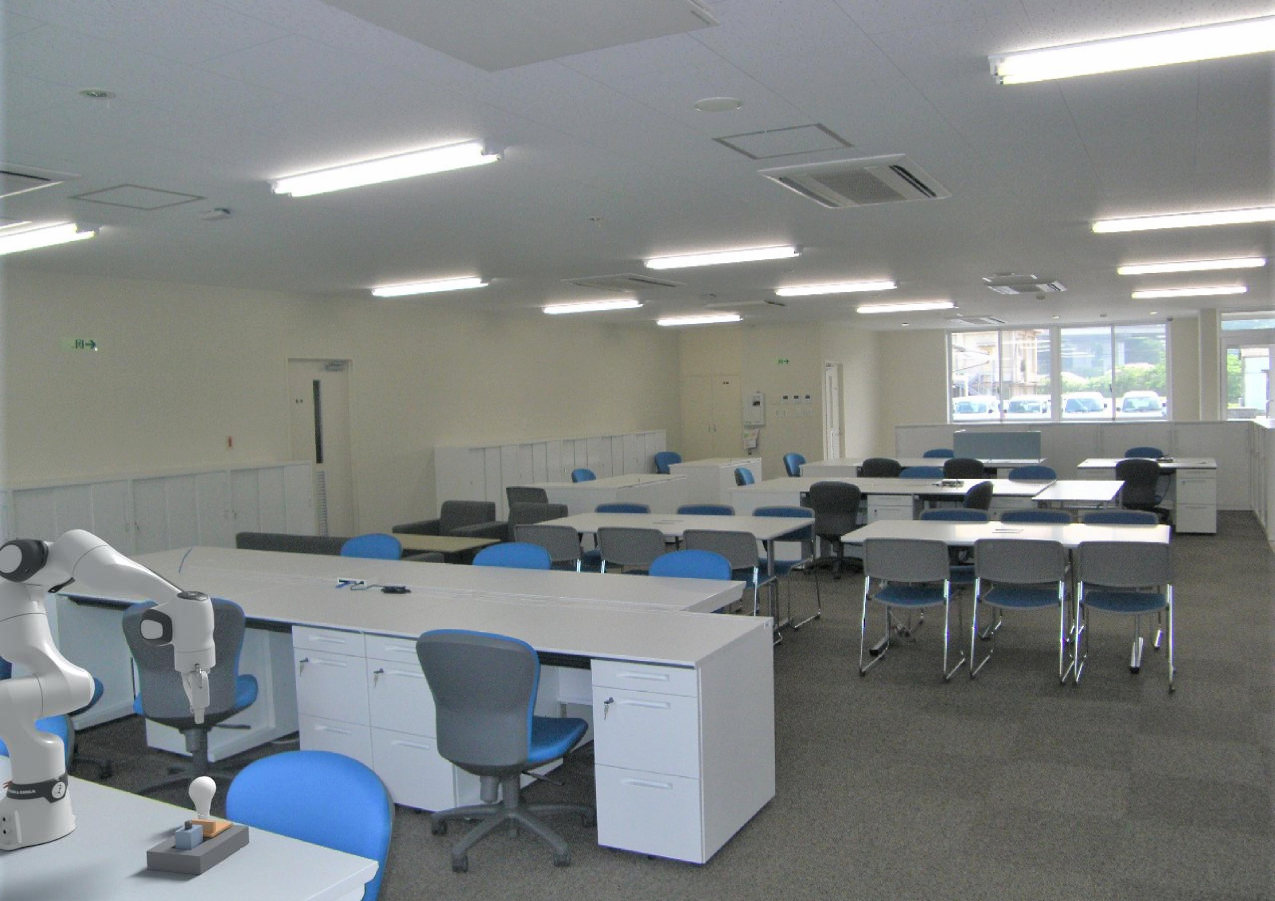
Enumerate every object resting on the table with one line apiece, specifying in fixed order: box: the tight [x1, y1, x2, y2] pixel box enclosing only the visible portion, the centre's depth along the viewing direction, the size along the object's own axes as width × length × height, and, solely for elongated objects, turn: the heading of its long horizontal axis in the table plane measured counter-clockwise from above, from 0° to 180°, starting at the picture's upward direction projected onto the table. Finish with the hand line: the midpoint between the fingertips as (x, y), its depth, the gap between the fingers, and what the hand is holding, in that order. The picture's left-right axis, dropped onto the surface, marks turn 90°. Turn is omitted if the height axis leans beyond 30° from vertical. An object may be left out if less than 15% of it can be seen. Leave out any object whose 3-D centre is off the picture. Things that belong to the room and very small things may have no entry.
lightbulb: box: [188, 775, 217, 820], centre depth 235 cm, size 6×6×11 cm
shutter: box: [191, 818, 234, 837], centre depth 219 cm, size 7×7×3 cm
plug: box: [174, 819, 203, 850], centre depth 212 cm, size 4×4×8 cm
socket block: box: [145, 824, 250, 876], centre depth 215 cm, size 14×16×4 cm
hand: (197, 717), depth 226 cm, fingers open, 8 cm apart
